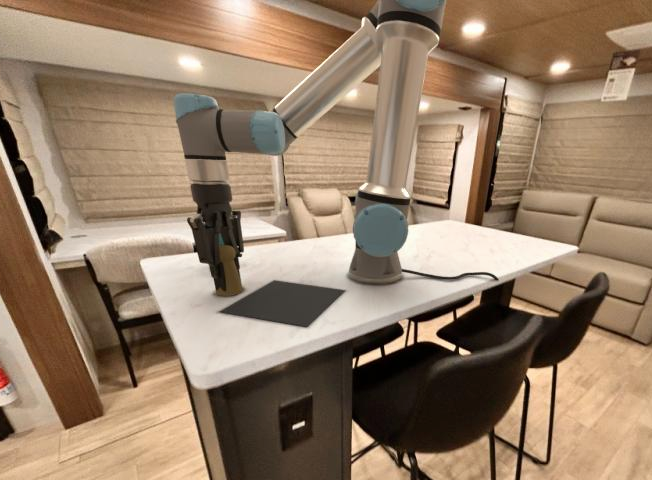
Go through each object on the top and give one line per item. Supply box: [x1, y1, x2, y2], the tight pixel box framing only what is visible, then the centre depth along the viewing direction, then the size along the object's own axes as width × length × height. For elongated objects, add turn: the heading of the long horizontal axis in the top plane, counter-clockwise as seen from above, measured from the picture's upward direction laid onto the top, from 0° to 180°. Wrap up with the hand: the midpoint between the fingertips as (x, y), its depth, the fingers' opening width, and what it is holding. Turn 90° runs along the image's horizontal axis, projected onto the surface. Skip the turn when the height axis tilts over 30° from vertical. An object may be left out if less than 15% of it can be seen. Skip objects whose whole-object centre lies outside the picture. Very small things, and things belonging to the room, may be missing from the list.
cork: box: [215, 245, 244, 297], centre depth 72 cm, size 6×6×11 cm
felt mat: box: [219, 279, 345, 328], centre depth 71 cm, size 20×20×1 cm
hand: (228, 286), depth 74 cm, fingers closed on cork, 4 cm apart
